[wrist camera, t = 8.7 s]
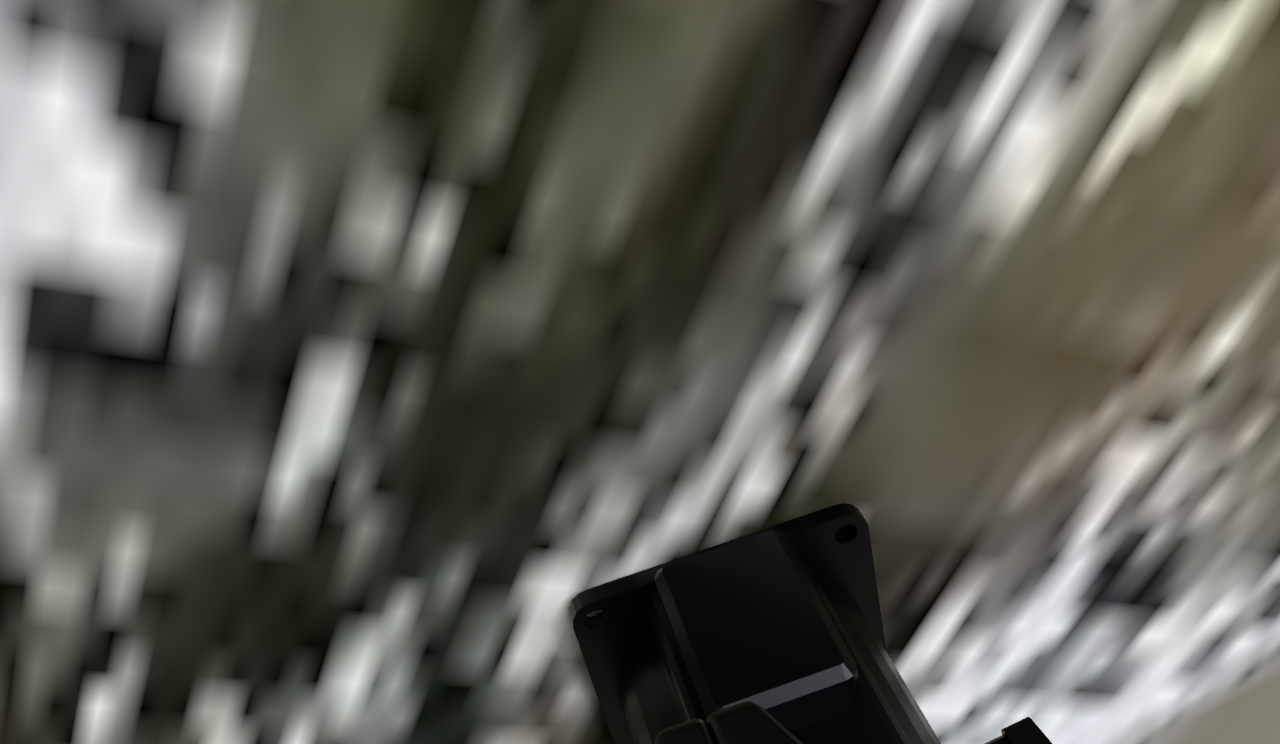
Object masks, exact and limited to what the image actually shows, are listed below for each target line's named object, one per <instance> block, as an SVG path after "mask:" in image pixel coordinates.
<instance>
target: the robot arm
mask: <svg viewBox="0 0 1280 744" xmlns="http://www.w3.org/2000/svg"><path fill="white" fill-rule="evenodd" d="M848 524H849V525H848ZM844 525H848V526H847V527H846V528H845V529H844V530H842V531H840V532H836V531H837V530H838V529H839V528H840V527H842V526H844ZM598 610H601V611H602V612H601V613H599V614H597V615H596V616H587V615H588V614H589V613H591V612H593V611H598ZM569 612H570V618H571V621H572V625H573V628H574V631H575V634H576V637H577V640H578V642H579V645H580V648H581V651H582V654H583V657H584V659H585V662H586V665H587V668H588V671H589V674H590V676H591V679H592V682H593V685H594V688H595V691H596V693H597V696H598V699H599V702H600V705H601V708H602V710H603V713H604V716H605V719H606V722H607V725H608V727H609V730H610V733H611V736H612V739H613V742H614V744H941V743H940V741H939V740H938V738H937V736H936V735H935V733H934V731H933V730H932V728H931V726H930V725H929V723H928V721H927V719H926V718H925V716H924V714H923V713H922V711H921V709H920V708H919V706H918V704H917V703H916V701H915V699H914V698H913V696H912V694H911V693H910V691H909V689H908V688H907V686H906V684H905V683H904V681H903V679H902V678H901V676H900V674H899V672H898V671H897V669H896V667H895V666H894V664H893V662H892V661H891V659H890V657H889V656H888V654H887V652H886V648H885V641H884V634H883V626H882V619H881V612H880V605H879V598H878V591H877V584H876V577H875V570H874V563H873V556H872V549H871V542H870V535H869V528H868V525H867V522H866V520H865V519H864V517H863V516H862V514H861V513H860V511H859V510H858V508H856V507H855V506H853V505H851V504H845V503H844V504H838V505H834V506H831V507H828V508H825V509H822V510H820V511H817V512H814V513H811V514H808V515H805V516H802V517H799V518H796V519H793V520H790V521H787V522H784V523H781V524H779V525H776V526H773V527H770V528H767V529H764V530H761V531H758V532H755V533H752V534H749V535H746V536H743V537H740V538H737V539H735V540H732V541H729V542H726V543H723V544H720V545H717V546H714V547H711V548H708V549H705V550H702V551H699V552H696V553H694V554H691V555H688V556H685V557H682V558H679V559H676V560H673V561H670V562H667V563H664V564H661V565H658V566H655V567H652V568H650V569H647V570H644V571H641V572H638V573H635V574H632V575H629V576H626V577H623V578H620V579H617V580H614V581H611V582H608V583H606V584H603V585H600V586H597V587H594V588H591V589H588V590H586V591H584V592H582V593H580V594H578V595H577V596H576V597H575V598H574V599H573V600H572V602H571V605H570V607H569ZM1001 731H1002V736H1000V737H998V738H996V739H994V740H992V741H990V742H987V743H985V744H1052V743H1051V742H1050V740H1049V739H1048V738H1047V737H1046V736H1045V735H1044V733H1043V732H1042V731H1041V730H1040V729H1039V728H1038V726H1037V725H1036V724H1035V723H1034V722H1033V721H1032V719H1031V718H1030V717H1027V718H1025V719H1023V720H1021V721H1019V722H1017V723H1014V724H1012V725H1010V726H1008V727H1006V728H1004V729H1002V730H1001Z"/></svg>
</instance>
